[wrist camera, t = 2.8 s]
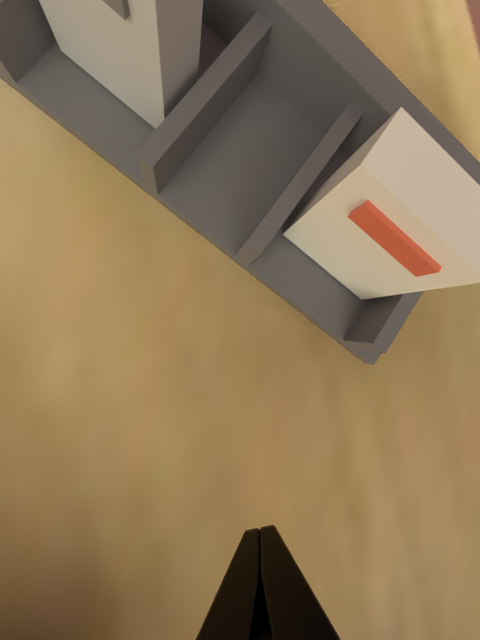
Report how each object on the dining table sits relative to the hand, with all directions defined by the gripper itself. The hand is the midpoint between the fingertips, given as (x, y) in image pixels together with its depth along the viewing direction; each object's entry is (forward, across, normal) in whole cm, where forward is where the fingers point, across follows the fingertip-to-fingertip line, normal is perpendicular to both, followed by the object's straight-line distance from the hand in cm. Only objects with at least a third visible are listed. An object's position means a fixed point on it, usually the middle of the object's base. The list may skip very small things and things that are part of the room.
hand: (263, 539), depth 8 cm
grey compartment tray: (+15, +4, +13) cm, 20 cm away
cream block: (+13, +7, +6) cm, 16 cm away
